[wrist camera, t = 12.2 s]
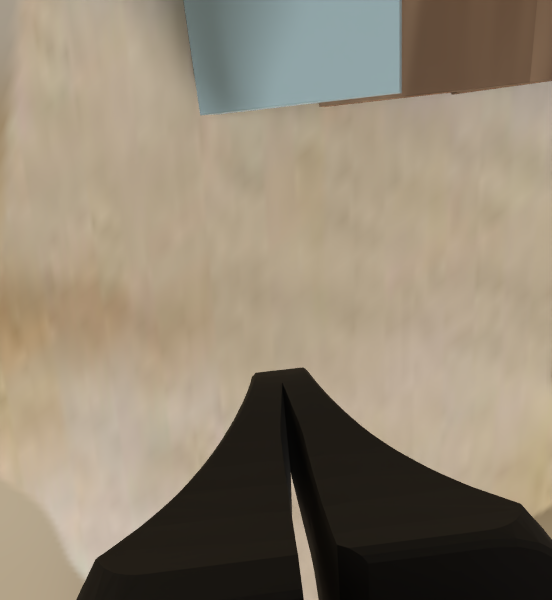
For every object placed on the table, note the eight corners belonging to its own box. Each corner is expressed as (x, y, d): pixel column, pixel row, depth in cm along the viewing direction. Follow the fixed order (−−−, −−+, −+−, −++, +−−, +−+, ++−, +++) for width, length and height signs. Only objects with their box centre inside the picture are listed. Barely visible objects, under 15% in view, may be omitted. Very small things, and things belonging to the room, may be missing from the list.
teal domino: (200, -18, 16) (401, -60, 14) (217, 114, 18) (402, 93, 16) (179, -29, 15) (399, -78, 13) (200, 115, 17) (399, 92, 15)
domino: (317, -24, 17) (530, -64, 15) (325, 106, 18) (518, 84, 16) (310, -36, 15) (544, -82, 13) (319, 106, 17) (529, 82, 15)
